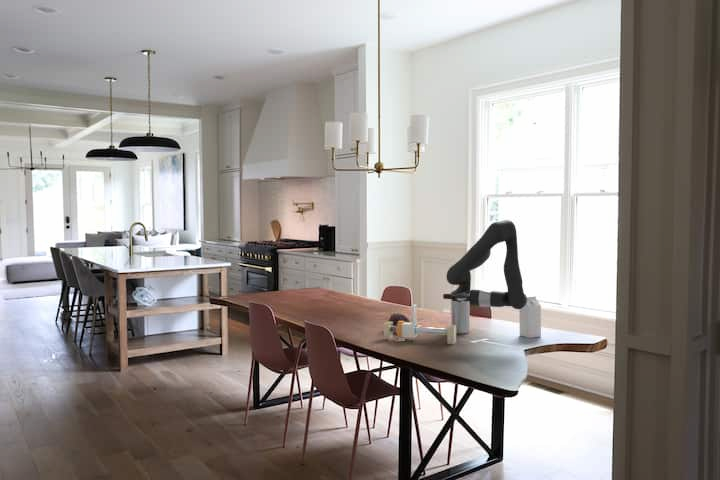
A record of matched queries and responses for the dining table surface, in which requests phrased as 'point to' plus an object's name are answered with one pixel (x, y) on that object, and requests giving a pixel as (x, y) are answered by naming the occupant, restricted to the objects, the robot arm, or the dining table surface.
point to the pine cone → (398, 319)
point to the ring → (399, 329)
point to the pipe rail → (424, 331)
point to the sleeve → (410, 324)
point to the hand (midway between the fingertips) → (443, 296)
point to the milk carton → (530, 318)
